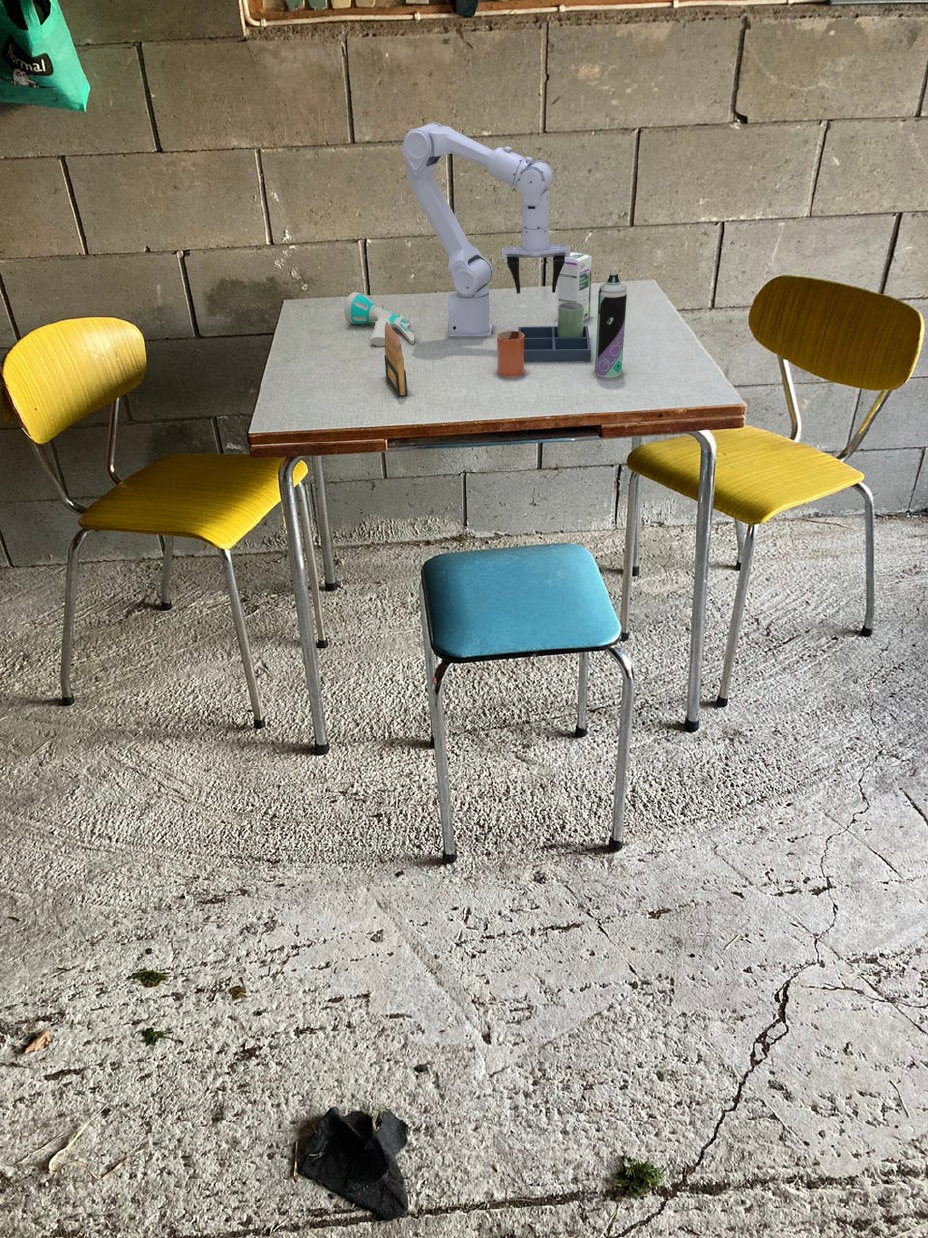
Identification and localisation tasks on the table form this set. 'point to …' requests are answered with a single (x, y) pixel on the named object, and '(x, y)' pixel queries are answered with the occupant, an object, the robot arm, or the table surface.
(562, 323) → the sage cup
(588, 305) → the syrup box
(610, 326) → the spray can
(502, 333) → the terracotta cup
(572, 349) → the cup rack
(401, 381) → the ammunition clip
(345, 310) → the garden hose nozzle
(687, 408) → the table surface
